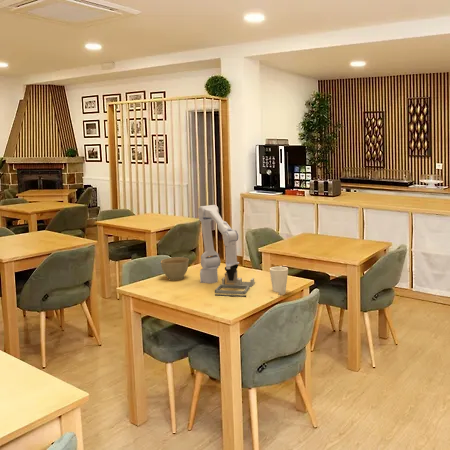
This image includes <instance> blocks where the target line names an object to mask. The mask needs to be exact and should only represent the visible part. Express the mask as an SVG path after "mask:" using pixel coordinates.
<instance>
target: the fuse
mask: <svg viewBox="0 0 450 450" xmlns="http://www.w3.org/2000/svg"><path fill="white" fill-rule="evenodd" d="M224 277H225V284H231V285H234V283H227V273H226V272H224Z"/></svg>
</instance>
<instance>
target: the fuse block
mask: <svg viewBox="0 0 450 450" xmlns="http://www.w3.org/2000/svg"><path fill="white" fill-rule="evenodd" d="M237 278H238V282H237V283H234V285H246V286H250V288H253V286H254V285H255V284H256V281H255V278H254V277H251V278H250V281H243V277H237ZM221 285H231V284H225V276H223V277H222V279H221Z"/></svg>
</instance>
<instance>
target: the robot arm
mask: <svg viewBox="0 0 450 450" xmlns="http://www.w3.org/2000/svg"><path fill="white" fill-rule="evenodd" d="M219 212H220V211H219V207H218V206H217V204H210V205H201V206H199V207H198V210H197V214H198V221H200V223H201V231H202V232H201V233H202V240H203V246H204V248H203V249H204V252H203V253H202V254H201V255H200V267H201V269H200V271H199V278H200V279H199V282H200V283H202V284H215V283H216V284H217V283H218V281H219V278H218V277H219V274H218V273H219V272H218V269H219V268H220V266H221V258H220V256H219V255H220V254H219V252H217V251H216V250H215V248H214V239H213V232H212V223H211V222H212V221H214V222H215V224H216V225H217V229H218V231H219V232H220V233H221V234H220V235H222V241H223V245H224V246H225V248H224V249H225V251H224V252H225V267H224V270H225V273H226V272H227V275H228V278H229V281H233V279H234V272H235V270H237V271H238V267H239V264H240V262H239V261H238V257H237V255H238V254H237V252H238V251H237V241H238V240H239V234H238V230H236V229H233V228H232V227H231V226H230V225H229V224H228V222H227V221H225V220H223V218H222V217H221V214H220V213H219Z"/></svg>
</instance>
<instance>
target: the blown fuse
mask: <svg viewBox="0 0 450 450" xmlns="http://www.w3.org/2000/svg"><path fill="white" fill-rule="evenodd" d="M225 273H227V272H226V271H225ZM238 278H239V277H238V269H237V270H235V272H234V279H233V281H229V278H228V275H227V283H237V282H238Z"/></svg>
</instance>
